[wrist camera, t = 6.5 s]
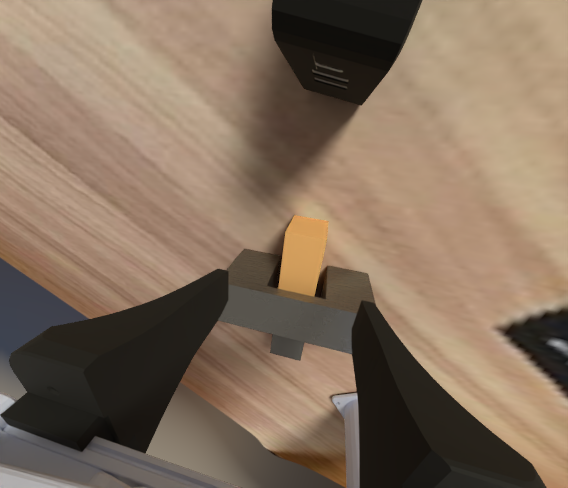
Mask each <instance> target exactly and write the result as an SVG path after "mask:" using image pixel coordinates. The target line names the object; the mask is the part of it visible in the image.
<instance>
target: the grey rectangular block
mask: <svg viewBox="0 0 568 488" xmlns="http://www.w3.org/2000/svg"><path fill="white" fill-rule="evenodd" d="M279 264H280V256H278V255H273V254H268V253H263V252H259V251H254V250H249V249H244V250H243V251H242V252H241V253H240V255H239V256H238V257H237V258H236V259H235V261H234V262H233V263H232V264H231V265H230V267H229V268H228V269H227V270H226V271H229V292H228V302H227V304H226V306H225V308H224V310H223V312H222V314H221V316H220V318H219V319H218V321H222V322H226V323H230V324H234V325H238V326H242V327H246V328H250V329H254V330H258V331H262V332H266V333H270V334H274V335H278V336H282V337H286V338H290V339H294V340H298V341H302V342H306V343H309V344H313V345H317V346H321V347H325V348H329V349H333V350H337V351H341V352H345V353H349V354H352V342H351V336H352V326H353V324H354V321H355V318H356V315H357V312H358V309H359V306H360V303H361V300H363V301H368V302H373V303H374V304H375V300H374V296H373V292H372V288H371V284H370V280H369V276H368V274H367V273H362V272H357V271H352V270H347V269H342V268H337V267H332V266H328V267H327V271H326V276H325V280H324V284H323V288H322V292H321V297H320V298H318V297H313V296H309V295H305V294H300V293H296V292H291V291H287V290H282V289H278V288H277V281H278V273H279ZM375 305H376V304H375Z"/></svg>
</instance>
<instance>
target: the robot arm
mask: <svg viewBox="0 0 568 488" xmlns="http://www.w3.org/2000/svg"><path fill="white" fill-rule="evenodd" d="M228 292H229V271H226V270H221V269H217V270H215V271H213V272H211V273H209V274H207V275H205V276H203V277H202V278H200V279H198V280H196V281H194V282H192V283H190V284H188V285H186V286H184V287H182V288H180V289H178V290H176V291H174V292H172V293H169V294H167V295H165V296H163V297H160V298H158V299H155V300H153V301H150V302H147V303H145V304H142V305H139V306H136V307H132V308H129V309H126V310H123V311H120V312H116V313H113V314H109V315H105V316H101V317H97V318H93V319H88V320H84V321H79V322H74V323H68V324H64V325H58V326H52V327H50V328H49V329H47V330H46V331H44V332H43V333H41V334H40V335H38V336H37V337H35V338H34V339H32V340H31V341H29V342H28V343H26V344H25V345H23V346H22V347H20V348H19V349H17V350H16V351H14V352H13V353H11V356H10V359H9V362H10V366H11V368H12V370H13V372H14V373H15V374H16V376H17V377H18V379H19V380H20V382H21V383H22V385H23V386H24V388H25V389H26V391H27V393H26V394H25V395H24V396H22V397H21V398H20V399H19V400H16V399H15V398H14V397H12V396H10V395H8V394H5V393H2V392H0V488H241V487H238V486H235V485H233V484H230V483H227V482H224V481H221V480H218V479H216V478H213V477H210V476H207V475H204V474H201V473H198V472H196V471H193V470H190V469H187V468H184V467H182V466H179V465H176V464H173V463H170V462H167V461H165V460H162V459H159V458H156V457H153V456H150V455H148V454H145V453H146V451H147V449H148V447H149V444H150V442H151V440H152V438H153V436H154V434H155V431H156V429H157V427H158V425H159V423H160V420H161V418H162V416H163V414H164V412H165V410H166V408H167V406H168V404H169V402H170V400H171V398H172V396H173V394H174V392H175V390H176V388H177V386H178V384H179V382H180V381H181V379H182V377H183V375H184V373H185V371H186V369H187V367H188V366H189V364H190V362H191V360H192V358H193V357H194V355H195V353H196V352H197V350H198V349H199V347H200V346H201V344H202V343H203V341H204V340H205V338H206V337H207V335H208V334H209V333H210V331H211V330H212V328H213V327H214V325H215V324H216V322H217V321H218V319H219V318H220V316H221V314H222V312H223V310H224V308H225V306H226V304H227V302H228ZM351 342H352V356H353V365H354V372H355V380H356V388H357V393H351V394H343V395H335V396H333V397H332V401H333V403H334V404H335V406H336V407H337V409H338V410H339V412H340V413H341V415H342V416H343V418H344V419H345V448H346V477H347V488H546V486H545V484H544V483H543V481H542V480H541V478H540V476H539V475H538V473H537V471H536V470H535V468H534V467H533V465H532V464H531V463H530V462H529V461H528V460H527V459H525V458H524V457H523V456H521V455H520V454H519V453H518V452H516V451H515V450H514V449H513V448H511V447H510V446H509V445H508V444H506V443H505V442H504V441H502V440H501V439H500V438H499V437H497V436H496V435H495V434H494V433H492V432H491V431H490V430H489V429H488V428H486V427H485V426H484V425H483V424H482V423H481V422H479V421H478V420H477V419H476V418H475V417H474V416H472V415H471V414H470V413H469V412H468V411H467V410H466V409H465V408H463V407H462V406H461V405H460V404H459V403H458V402H457V401H456V400H455V399H454V398H453V397H452V396H451V395H449V394H448V393H447V392H446V391H445V390H444V389H443V388H442V387H441V386H440V385H439V384H438V383H437V382H436V381H435V380H434V379H433V378H432V377H431V376H430V375H429V373H428V372H427V371H426V370H425V369H424V368H423V367H422V366H421V365H420V364H419V363H418V361H417V360H416V359H415V358H414V357H413V356H412V354H411V353H410V352H409V351H408V349H407V348H406V347H405V346H404V345H403V343H402V342H401V341H400V339H399V338H398V337H397V335H396V334H395V333H394V331H393V330H392V328H391V327H390V326H389V324H388V323H387V321H386V320H385V318H384V317H383V315H382V314H381V312H380V311H379V310H378V308H377V307H376V305H375V304H374V303H373V302H368V301H363V300H361V303H360V306H359V309H358V312H357V315H356V318H355V321H354V324H353V326H352V336H351Z"/></svg>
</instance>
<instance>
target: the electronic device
mask: <svg viewBox="0 0 568 488" xmlns="http://www.w3.org/2000/svg"><path fill="white" fill-rule="evenodd" d="M421 3H422V0H273V3H272V31H273V35H274V40H275V41H276V43H277V45H278V46H279V48H280V50H281V51H282V53H283V55H284V56H285V58H286V60H287V61H288V63H289V65H290V66H291V68H292V70H293V71H294V73H295V75H296V76H297V78H298V80H299V81H300V83H301V85H302V86H303V88H304V89H307V90H311V91H314V92H318V93H321V94H325V95H328V96H331V97H335V98H338V99H342V100H345V101H349V102H352V103H355V104H359V105H362V104H363V103H364V102H365V101H366V99H367V98H368V97H369V96H370V94H371V93H372V92H373V91H374V89H375V88H376V87H377V85H378V84H379V83H380V82H381V80H382V79H383V78H384V77H385V75H386V74H387V73H388V71H389V70H390V68H391V67H392V65H393V64H394V62H395V60H396V59H397V57H398V55H399V54H400V52H401V50H402V48H403V46H404V44H405V41H406V39H407V37H408V34H409V32H410V30H411V27H412V25H413V22H414V20H415V18H416V15H417V13H418V10H419V8H420V5H421Z"/></svg>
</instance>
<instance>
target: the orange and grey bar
mask: <svg viewBox="0 0 568 488" xmlns="http://www.w3.org/2000/svg"><path fill="white" fill-rule="evenodd" d="M327 232H328V221H324V220H318V219H312V218H307V217H301V216H295V215H294V217H293V219H292V221H291V223H290V224H289V226H288V228H287V230H286V232H285V240H284V247H283V255H282V263H281V271H280V279H279V287H278V289H282V290H287V291H291V292H296V293H300V294H305V295H309V296H313V297H314V296H315V291H316V287H317V282H318V278H319V273H320V269H321V264H322V260H323V255H324V251H325V246H326V241H327ZM303 346H304V342H302V341H298V340H294V339H290V338H286V337H282V336H278V335H274V334H273V335H272V343H271V350H270V353H273V354H276V355H280V356H284V357H288V358H291V359H295V360H299V361H300V359H301V355H302V350H303Z"/></svg>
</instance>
